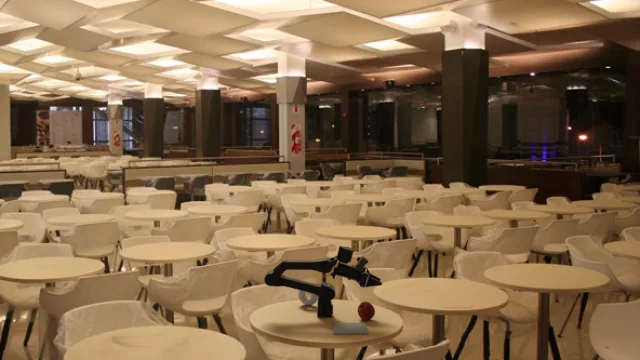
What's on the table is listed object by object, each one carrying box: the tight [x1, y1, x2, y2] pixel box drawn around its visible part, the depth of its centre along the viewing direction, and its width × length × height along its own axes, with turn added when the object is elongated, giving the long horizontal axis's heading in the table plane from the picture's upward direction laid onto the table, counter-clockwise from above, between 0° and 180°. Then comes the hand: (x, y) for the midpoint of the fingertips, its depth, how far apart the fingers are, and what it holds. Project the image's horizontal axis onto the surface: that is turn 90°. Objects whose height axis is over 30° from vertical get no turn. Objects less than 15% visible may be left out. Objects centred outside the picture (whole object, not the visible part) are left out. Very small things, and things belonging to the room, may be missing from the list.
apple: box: [357, 301, 376, 321], centre depth 298 cm, size 7×8×8 cm
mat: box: [332, 321, 369, 336], centre depth 285 cm, size 14×14×1 cm
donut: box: [297, 290, 318, 306], centre depth 319 cm, size 10×4×10 cm, turn 70°
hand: (381, 282), depth 301 cm, fingers open, 9 cm apart
